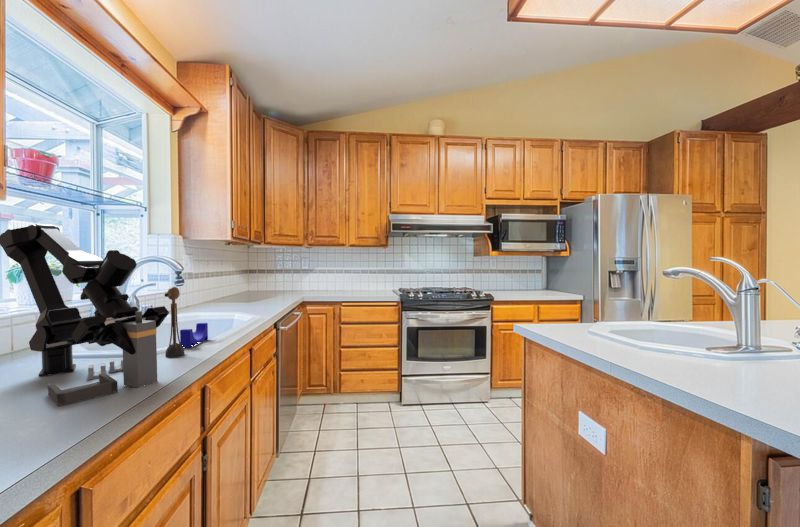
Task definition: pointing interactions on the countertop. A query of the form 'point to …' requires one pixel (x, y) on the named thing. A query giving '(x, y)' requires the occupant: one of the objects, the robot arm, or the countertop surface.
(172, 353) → the wooden tabletop sculpture
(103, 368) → the clips
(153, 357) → the connector
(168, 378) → the countertop surface
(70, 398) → the dark grey square tray
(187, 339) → the cable clip
